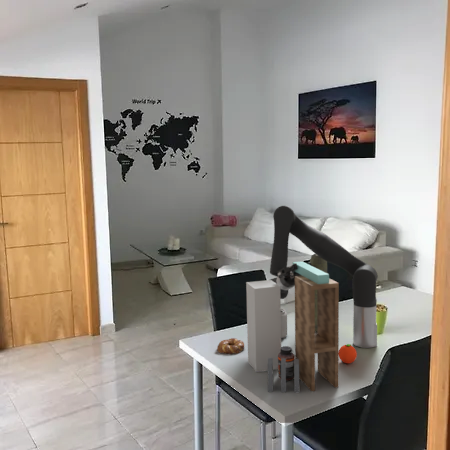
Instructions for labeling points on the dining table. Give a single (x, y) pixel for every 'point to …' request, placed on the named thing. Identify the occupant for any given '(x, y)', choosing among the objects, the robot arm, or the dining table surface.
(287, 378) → the supplement bottle
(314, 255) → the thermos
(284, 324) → the can
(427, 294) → the dining table surface
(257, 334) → the block
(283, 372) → the domino
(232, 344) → the braided bread ring
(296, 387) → the domino
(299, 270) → the block
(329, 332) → the stand
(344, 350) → the clementine
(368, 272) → the robot arm
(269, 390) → the domino
